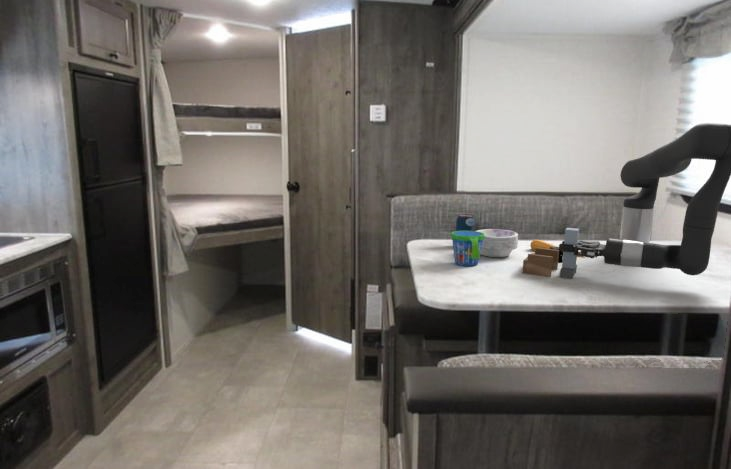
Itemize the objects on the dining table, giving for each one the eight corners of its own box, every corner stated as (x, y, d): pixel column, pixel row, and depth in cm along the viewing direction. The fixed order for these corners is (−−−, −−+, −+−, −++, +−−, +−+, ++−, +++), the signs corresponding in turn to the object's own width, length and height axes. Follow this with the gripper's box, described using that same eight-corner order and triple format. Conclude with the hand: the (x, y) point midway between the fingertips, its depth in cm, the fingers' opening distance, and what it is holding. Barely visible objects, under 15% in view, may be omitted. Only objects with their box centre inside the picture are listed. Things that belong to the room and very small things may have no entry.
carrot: (528, 252, 187) (528, 242, 184) (534, 246, 189) (534, 236, 187) (584, 267, 175) (585, 256, 172) (589, 260, 177) (590, 249, 175)
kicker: (564, 270, 158) (568, 226, 156) (576, 272, 157) (580, 227, 154) (559, 277, 151) (563, 230, 148) (571, 279, 149) (576, 232, 146)
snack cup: (445, 258, 173) (446, 228, 171) (476, 258, 173) (478, 228, 171) (455, 270, 157) (456, 237, 155) (488, 270, 158) (490, 238, 156)
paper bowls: (464, 254, 178) (465, 232, 176) (484, 247, 189) (485, 226, 188) (505, 262, 168) (506, 238, 166) (524, 254, 179) (525, 232, 178)
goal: (530, 265, 164) (532, 246, 163) (557, 268, 160) (559, 250, 159) (522, 273, 155) (523, 253, 154) (550, 277, 151) (552, 257, 150)
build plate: (574, 265, 167) (575, 251, 166) (553, 265, 166) (554, 252, 165) (556, 256, 179) (557, 243, 178) (536, 256, 178) (537, 244, 177)
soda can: (475, 249, 187) (477, 216, 184) (456, 248, 187) (458, 216, 184) (472, 245, 193) (473, 213, 191) (453, 244, 193) (455, 213, 191)
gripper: (626, 235, 150) (565, 229, 159) (623, 244, 138) (557, 237, 147) (624, 260, 152) (563, 253, 160) (620, 271, 140) (555, 262, 148)
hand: (560, 245), depth 153 cm, fingers open, 4 cm apart
